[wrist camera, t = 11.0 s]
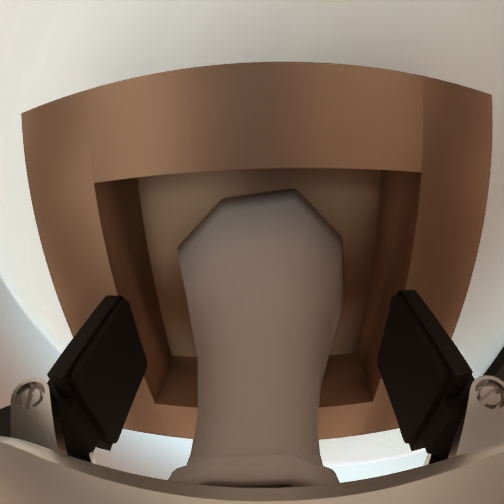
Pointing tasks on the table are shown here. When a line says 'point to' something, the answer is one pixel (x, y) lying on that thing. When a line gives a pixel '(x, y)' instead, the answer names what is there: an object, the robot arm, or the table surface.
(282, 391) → the flask
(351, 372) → the condiment dock
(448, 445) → the robot arm
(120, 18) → the table surface
